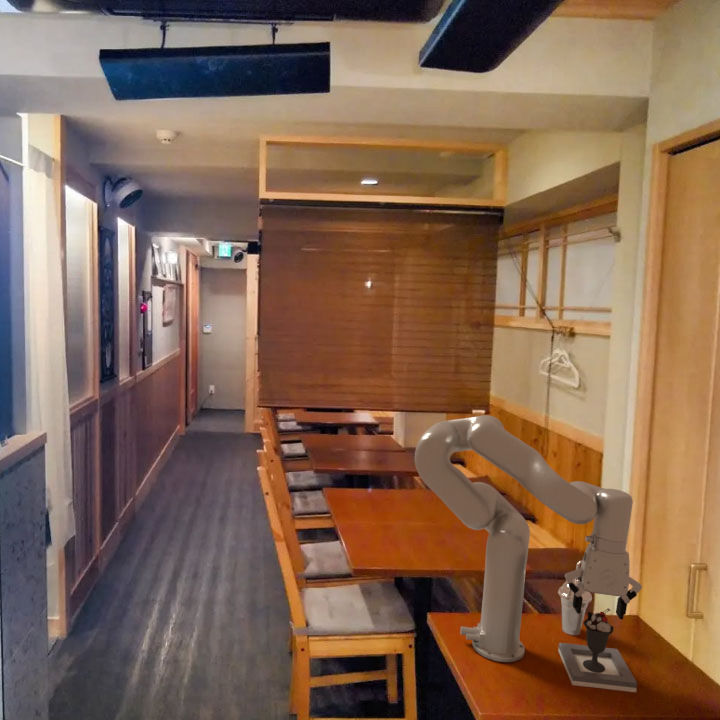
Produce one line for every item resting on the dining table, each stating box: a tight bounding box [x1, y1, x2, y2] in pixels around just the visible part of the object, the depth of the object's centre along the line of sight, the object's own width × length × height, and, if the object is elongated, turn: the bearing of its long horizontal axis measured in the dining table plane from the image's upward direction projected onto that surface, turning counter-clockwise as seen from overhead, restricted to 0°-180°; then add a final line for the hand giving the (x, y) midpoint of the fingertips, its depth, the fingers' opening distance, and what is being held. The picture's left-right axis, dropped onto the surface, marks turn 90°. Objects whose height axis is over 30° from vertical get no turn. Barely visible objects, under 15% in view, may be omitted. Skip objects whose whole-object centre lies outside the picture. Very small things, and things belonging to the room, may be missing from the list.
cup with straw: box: [557, 559, 593, 636], centre depth 166 cm, size 8×9×20 cm
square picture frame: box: [557, 642, 638, 693], centre depth 149 cm, size 14×14×2 cm
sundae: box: [583, 608, 615, 673], centre depth 148 cm, size 7×7×15 cm
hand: (598, 613), depth 148 cm, fingers open, 9 cm apart
